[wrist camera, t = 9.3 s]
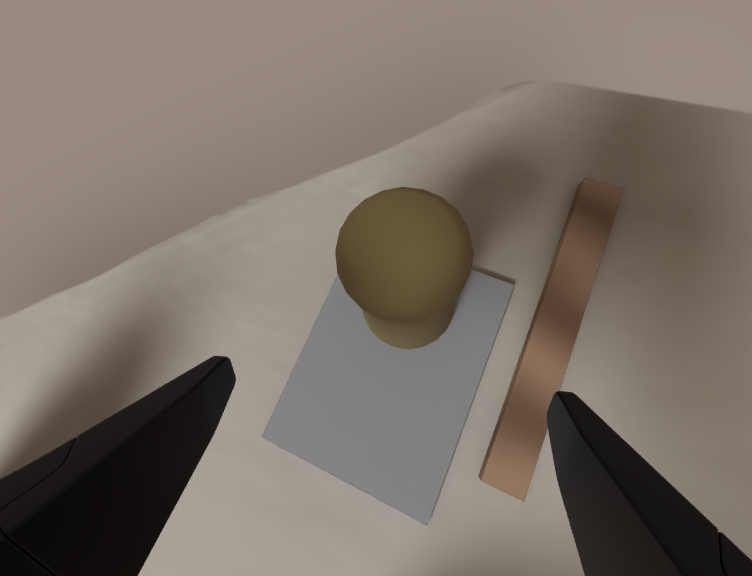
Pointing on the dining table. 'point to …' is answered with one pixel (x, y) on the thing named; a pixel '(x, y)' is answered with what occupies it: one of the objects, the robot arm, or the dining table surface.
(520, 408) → the walnut line
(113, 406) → the dining table surface
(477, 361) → the mat
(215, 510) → the dining table surface
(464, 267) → the cork
